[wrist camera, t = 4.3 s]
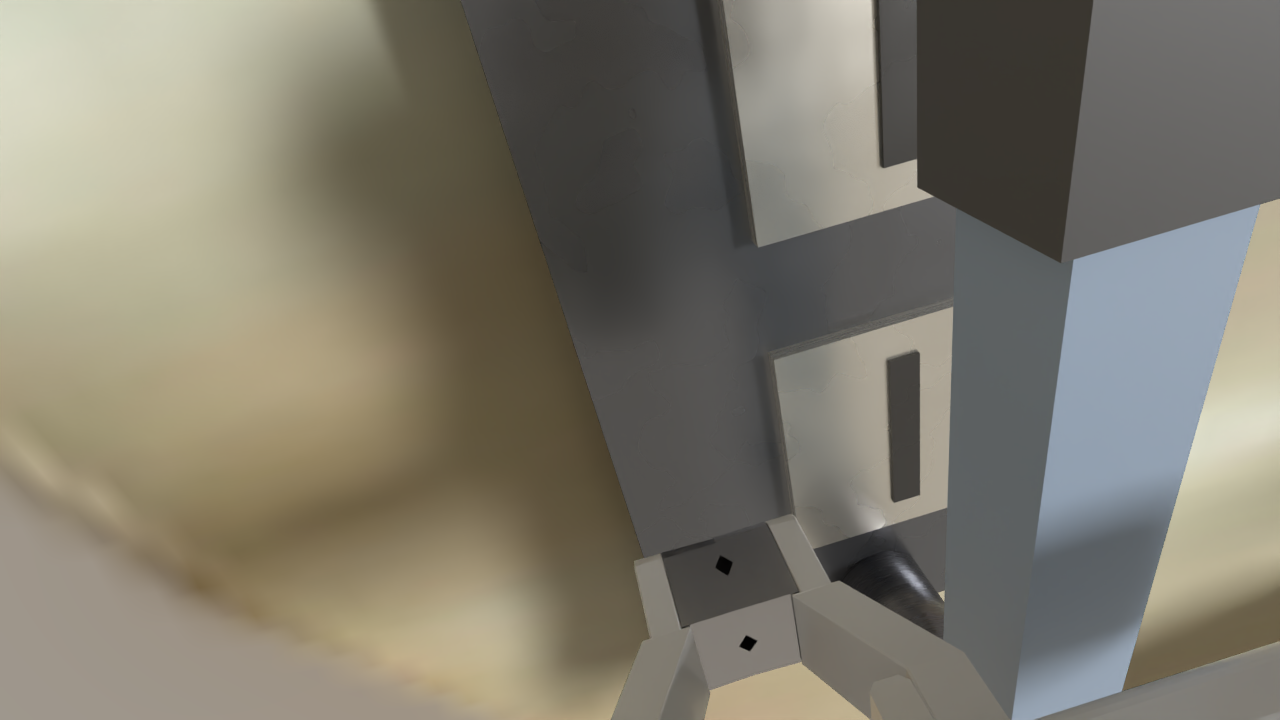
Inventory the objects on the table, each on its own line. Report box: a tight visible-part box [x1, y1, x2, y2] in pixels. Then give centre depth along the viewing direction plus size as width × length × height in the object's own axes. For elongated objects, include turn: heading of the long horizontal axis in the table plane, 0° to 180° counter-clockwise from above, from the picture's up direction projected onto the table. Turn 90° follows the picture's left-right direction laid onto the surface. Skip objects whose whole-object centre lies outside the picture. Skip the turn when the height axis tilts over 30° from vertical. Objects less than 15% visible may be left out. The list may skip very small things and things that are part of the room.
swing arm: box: [917, 0, 1280, 720], centre depth 12 cm, size 21×4×3 cm, turn 13°
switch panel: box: [461, 0, 956, 640], centre depth 14 cm, size 26×12×6 cm, turn 13°
